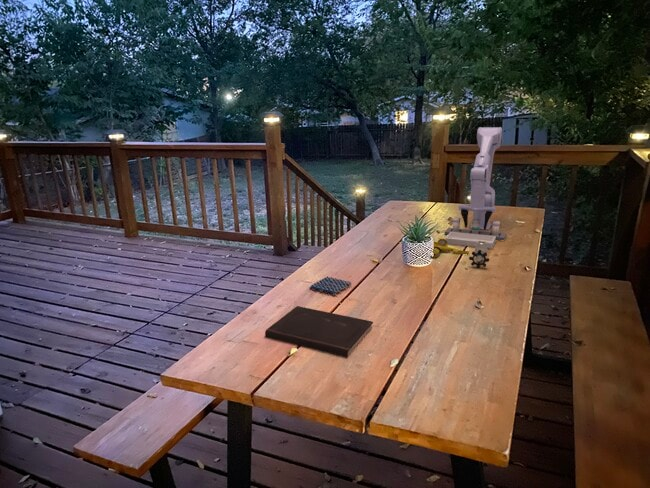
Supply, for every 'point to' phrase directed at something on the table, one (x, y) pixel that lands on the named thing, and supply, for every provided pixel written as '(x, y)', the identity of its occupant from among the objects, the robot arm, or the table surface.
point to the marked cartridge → (475, 226)
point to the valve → (480, 254)
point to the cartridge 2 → (495, 228)
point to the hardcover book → (320, 330)
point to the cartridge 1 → (456, 224)
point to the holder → (500, 237)
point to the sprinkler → (445, 248)
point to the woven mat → (330, 286)
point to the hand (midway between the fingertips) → (475, 227)
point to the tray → (469, 239)
